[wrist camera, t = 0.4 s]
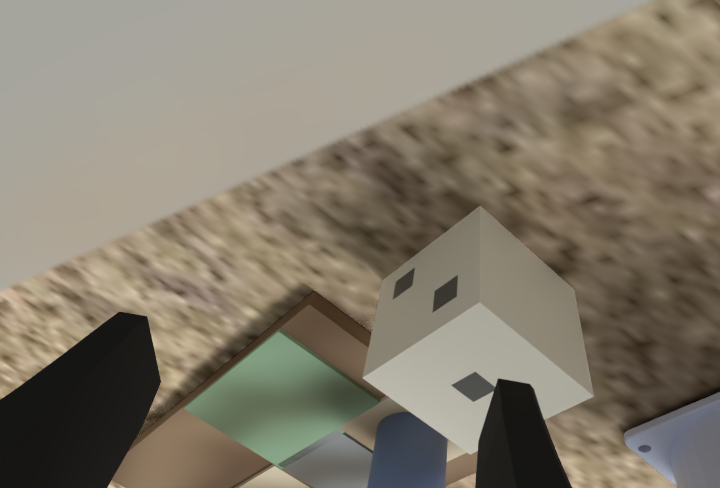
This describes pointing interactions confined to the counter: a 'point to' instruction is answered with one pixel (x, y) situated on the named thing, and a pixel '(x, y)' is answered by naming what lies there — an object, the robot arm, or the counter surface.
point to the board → (277, 415)
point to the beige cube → (476, 330)
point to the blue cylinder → (408, 454)
